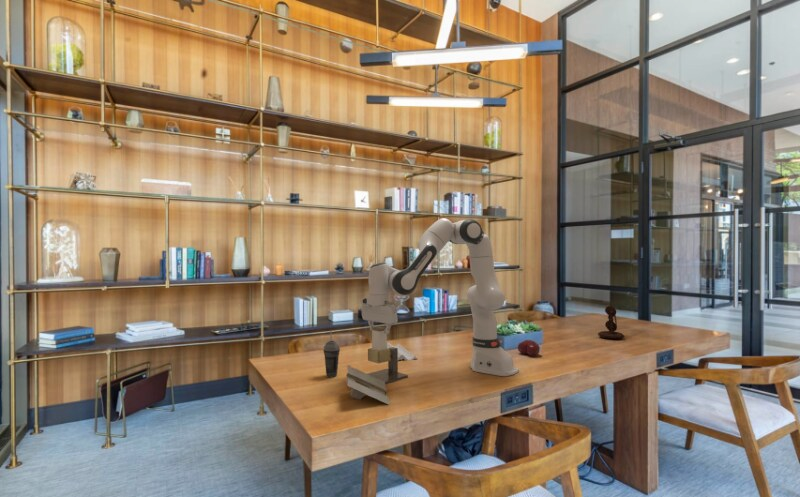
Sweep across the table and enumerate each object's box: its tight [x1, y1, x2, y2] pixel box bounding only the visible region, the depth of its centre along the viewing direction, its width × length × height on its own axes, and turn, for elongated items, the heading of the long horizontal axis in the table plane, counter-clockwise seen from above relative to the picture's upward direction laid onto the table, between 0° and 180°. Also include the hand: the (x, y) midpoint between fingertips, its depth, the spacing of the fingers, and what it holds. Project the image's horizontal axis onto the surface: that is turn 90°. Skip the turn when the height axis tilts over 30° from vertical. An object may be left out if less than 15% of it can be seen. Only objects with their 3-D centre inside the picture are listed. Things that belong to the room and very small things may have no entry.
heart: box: [517, 339, 541, 357], centre depth 213 cm, size 12×8×10 cm
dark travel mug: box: [322, 330, 340, 379], centre depth 177 cm, size 7×7×20 cm
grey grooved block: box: [345, 365, 391, 405], centre depth 151 cm, size 19×10×17 cm
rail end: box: [371, 326, 388, 351], centre depth 173 cm, size 5×5×13 cm
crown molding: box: [387, 341, 418, 361], centre depth 218 cm, size 31×12×4 cm, turn 16°
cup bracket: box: [367, 347, 409, 385], centre depth 175 cm, size 14×16×13 cm
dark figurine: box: [597, 305, 625, 341], centre depth 254 cm, size 15×15×20 cm
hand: (379, 332), depth 173 cm, fingers open, 8 cm apart
